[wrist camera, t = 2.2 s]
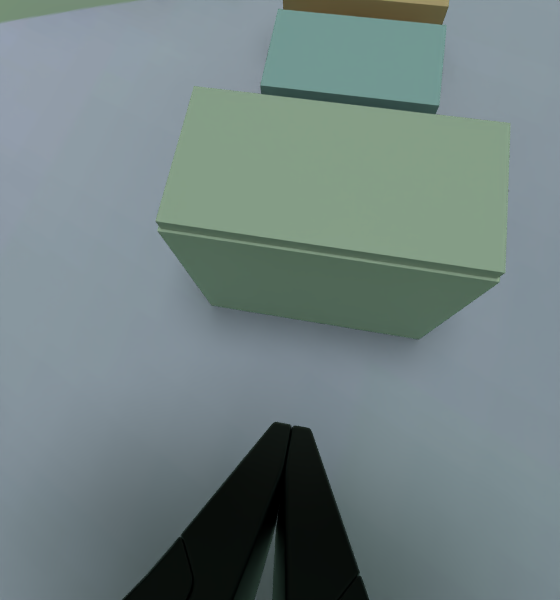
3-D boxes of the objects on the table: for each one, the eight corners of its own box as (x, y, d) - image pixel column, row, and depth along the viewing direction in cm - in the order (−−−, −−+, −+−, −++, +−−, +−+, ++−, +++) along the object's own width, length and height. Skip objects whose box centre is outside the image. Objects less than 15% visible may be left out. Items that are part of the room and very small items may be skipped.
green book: (418, 339, 24) (507, 276, 14) (211, 305, 25) (152, 223, 15) (427, 242, 25) (513, 121, 15) (232, 214, 27) (192, 83, 16)
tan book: (395, 154, 27) (448, 6, 18) (288, 140, 28) (282, -10, 18) (402, 101, 28) (454, -65, 19) (298, 89, 29) (298, -78, 19)
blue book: (387, 224, 26) (439, 105, 16) (274, 208, 26) (260, 85, 17) (394, 165, 27) (446, 21, 17) (285, 151, 28) (278, 6, 18)
